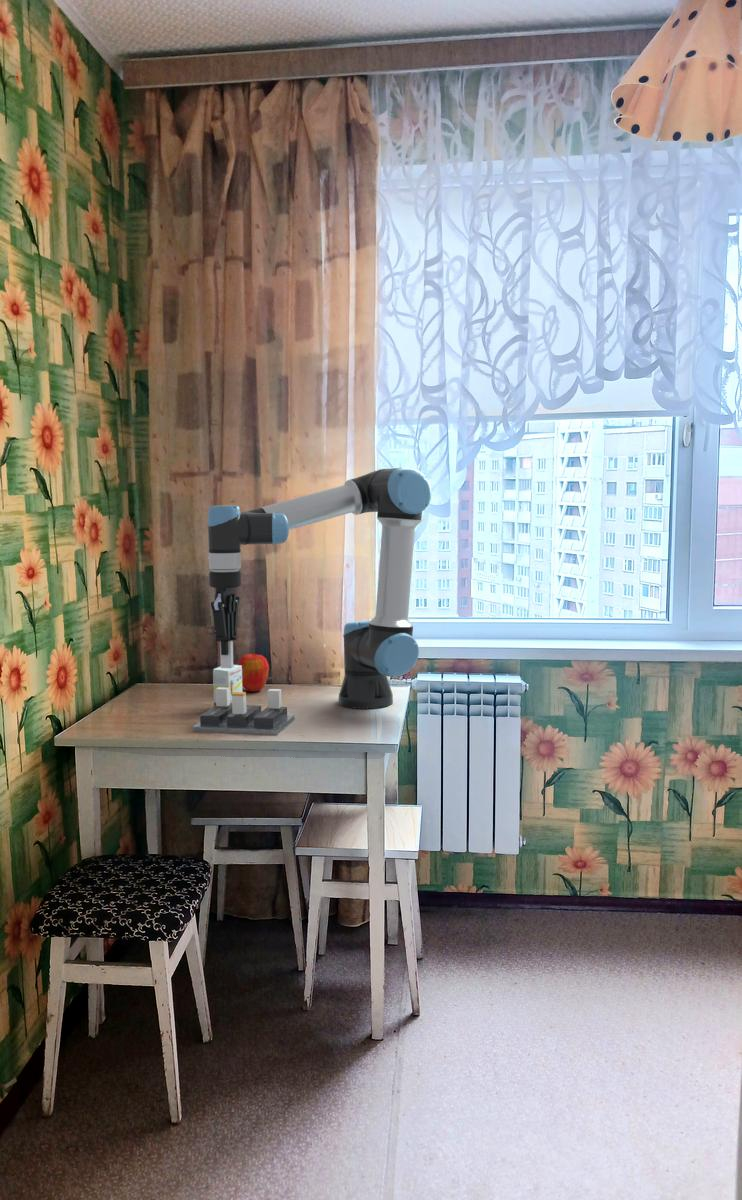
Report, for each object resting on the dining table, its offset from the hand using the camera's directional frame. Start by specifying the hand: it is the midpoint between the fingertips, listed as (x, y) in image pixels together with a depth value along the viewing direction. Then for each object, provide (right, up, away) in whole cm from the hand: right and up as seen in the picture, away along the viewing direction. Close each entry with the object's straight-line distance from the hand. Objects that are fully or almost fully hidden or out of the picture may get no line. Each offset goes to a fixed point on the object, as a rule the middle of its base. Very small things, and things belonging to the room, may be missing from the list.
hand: (227, 667), depth 221 cm
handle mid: (+2, -12, +8) cm, 14 cm away
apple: (0, -11, +50) cm, 52 cm away
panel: (+3, -16, +12) cm, 20 cm away
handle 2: (+10, -11, +13) cm, 20 cm away
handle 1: (-4, -11, +16) cm, 20 cm away
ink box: (-4, -14, +28) cm, 32 cm away
